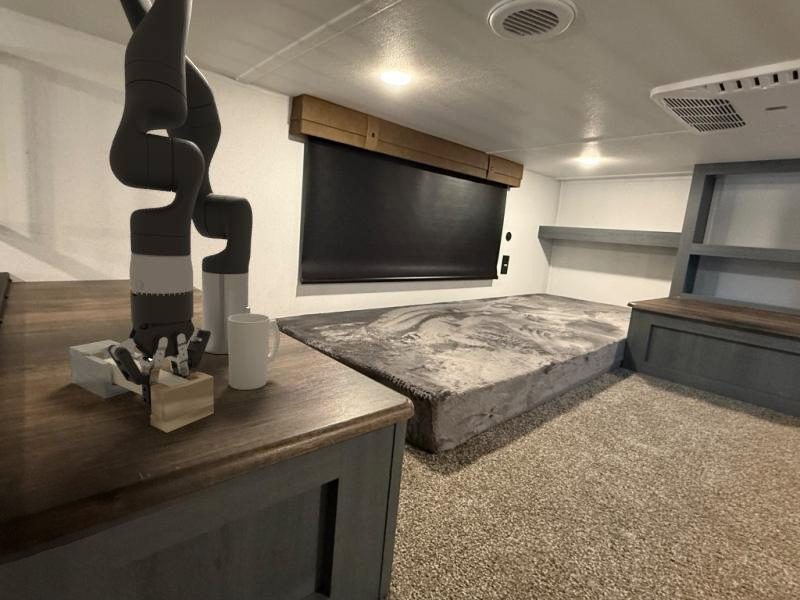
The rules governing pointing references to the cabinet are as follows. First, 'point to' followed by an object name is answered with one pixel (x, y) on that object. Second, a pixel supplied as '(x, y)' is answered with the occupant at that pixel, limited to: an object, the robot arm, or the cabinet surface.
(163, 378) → the cream square bar
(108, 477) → the cabinet surface
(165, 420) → the socket
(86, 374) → the grey slotted channel block
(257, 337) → the mug
